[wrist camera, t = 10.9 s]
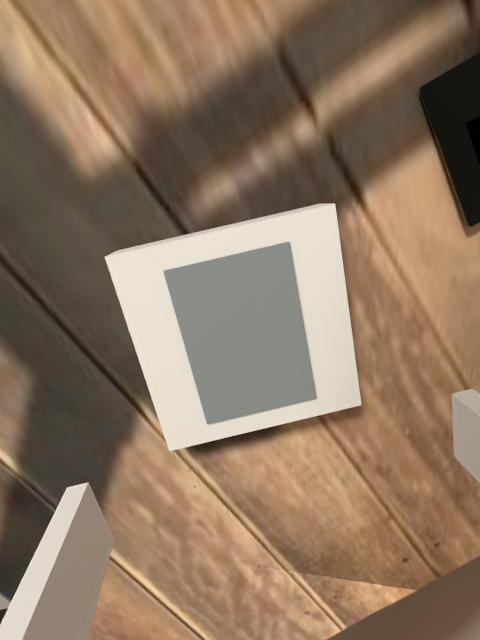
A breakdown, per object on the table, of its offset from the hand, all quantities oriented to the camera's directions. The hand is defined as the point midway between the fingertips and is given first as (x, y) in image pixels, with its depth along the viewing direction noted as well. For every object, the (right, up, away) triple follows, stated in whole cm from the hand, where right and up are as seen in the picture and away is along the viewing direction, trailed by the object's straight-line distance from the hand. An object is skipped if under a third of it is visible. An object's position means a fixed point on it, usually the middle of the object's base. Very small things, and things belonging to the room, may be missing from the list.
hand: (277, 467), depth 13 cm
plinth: (-1, +5, +22) cm, 22 cm away
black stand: (+19, +20, +20) cm, 34 cm away
